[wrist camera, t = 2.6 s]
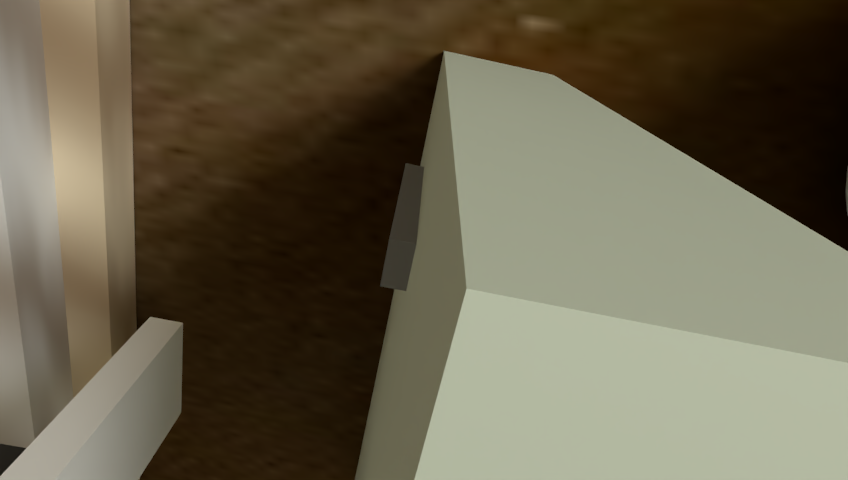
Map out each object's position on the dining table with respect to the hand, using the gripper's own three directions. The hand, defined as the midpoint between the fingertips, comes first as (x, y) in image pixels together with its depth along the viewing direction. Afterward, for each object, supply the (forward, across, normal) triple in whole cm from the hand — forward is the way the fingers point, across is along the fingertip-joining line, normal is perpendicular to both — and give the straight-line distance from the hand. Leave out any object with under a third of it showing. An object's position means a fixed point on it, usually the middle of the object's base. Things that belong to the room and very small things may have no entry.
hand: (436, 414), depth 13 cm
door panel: (+5, 0, 0) cm, 5 cm away
